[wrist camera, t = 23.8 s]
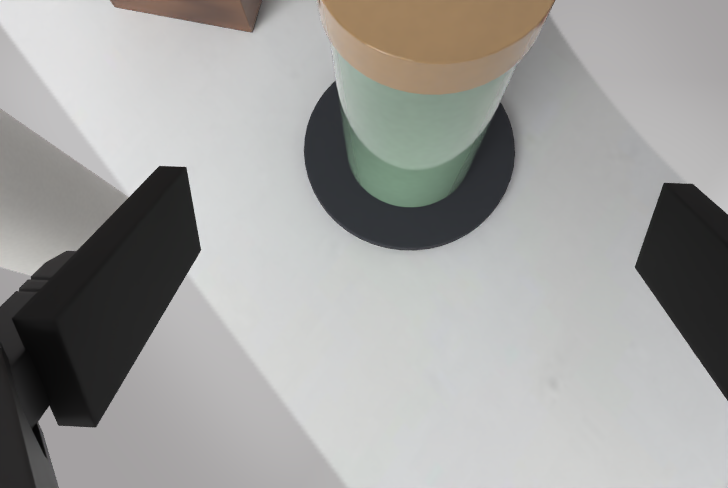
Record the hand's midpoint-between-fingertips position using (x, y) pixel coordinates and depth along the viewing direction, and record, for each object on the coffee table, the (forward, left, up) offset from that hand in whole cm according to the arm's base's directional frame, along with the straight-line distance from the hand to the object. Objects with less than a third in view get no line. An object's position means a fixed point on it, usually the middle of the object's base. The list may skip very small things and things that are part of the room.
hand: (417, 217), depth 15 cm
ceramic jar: (-1, +6, -9) cm, 11 cm away
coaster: (-1, +6, -9) cm, 11 cm away
